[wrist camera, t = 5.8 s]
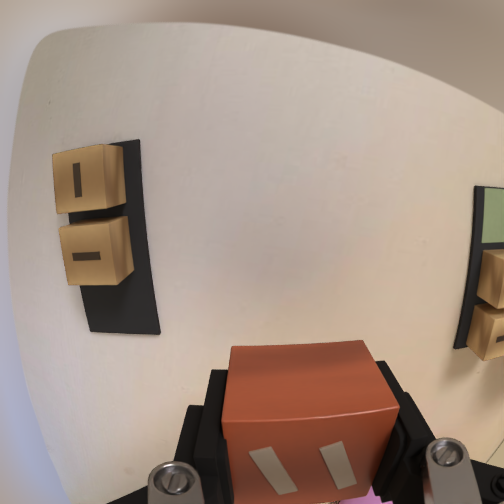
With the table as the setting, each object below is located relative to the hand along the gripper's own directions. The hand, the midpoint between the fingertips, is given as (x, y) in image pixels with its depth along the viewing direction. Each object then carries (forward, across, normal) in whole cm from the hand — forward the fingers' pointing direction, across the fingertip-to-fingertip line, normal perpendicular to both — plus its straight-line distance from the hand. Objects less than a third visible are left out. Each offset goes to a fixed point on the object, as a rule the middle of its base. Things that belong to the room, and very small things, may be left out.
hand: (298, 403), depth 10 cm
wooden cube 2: (+15, +13, -2) cm, 20 cm away
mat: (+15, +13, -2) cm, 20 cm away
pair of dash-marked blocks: (+15, -22, +4) cm, 26 cm away
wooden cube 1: (+15, +14, -8) cm, 22 cm away
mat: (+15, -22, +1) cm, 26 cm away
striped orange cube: (+1, 0, 0) cm, 1 cm away
